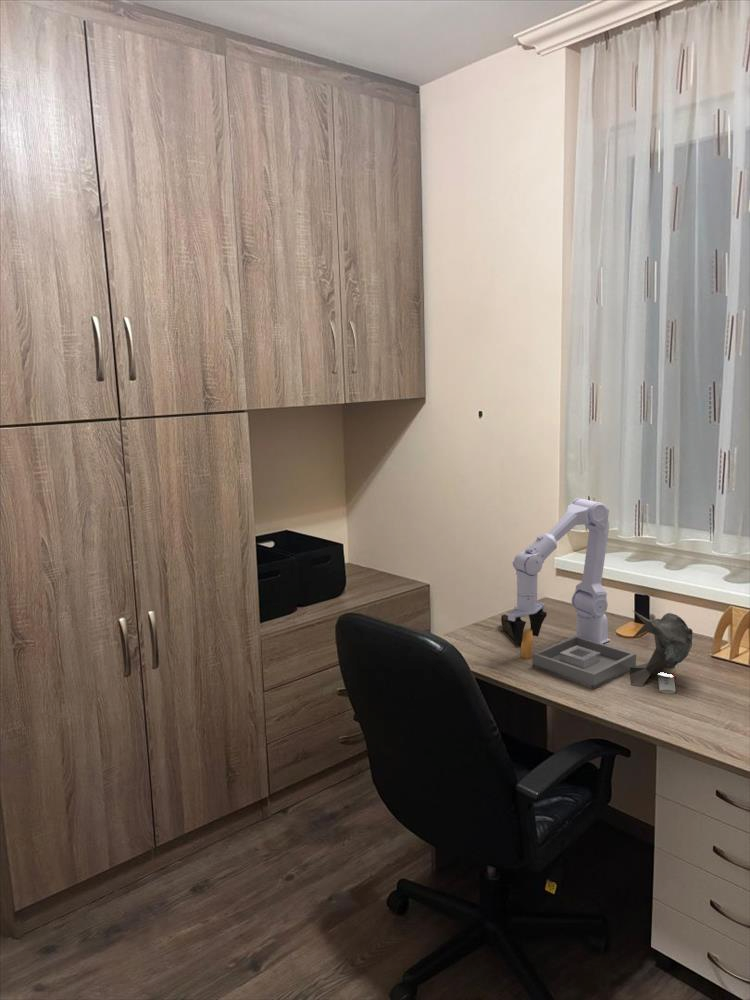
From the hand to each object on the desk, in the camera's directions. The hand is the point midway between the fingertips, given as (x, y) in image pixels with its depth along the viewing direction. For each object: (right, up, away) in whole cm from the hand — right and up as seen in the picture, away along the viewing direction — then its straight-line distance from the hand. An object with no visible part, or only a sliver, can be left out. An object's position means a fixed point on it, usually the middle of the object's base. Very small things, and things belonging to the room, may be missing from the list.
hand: (526, 638), depth 218 cm
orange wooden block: (0, -5, +1) cm, 6 cm away
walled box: (+14, -7, -8) cm, 18 cm away
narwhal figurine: (+33, -8, -16) cm, 37 cm away
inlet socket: (+14, -6, -6) cm, 16 cm away
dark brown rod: (-1, -3, +18) cm, 18 cm away
